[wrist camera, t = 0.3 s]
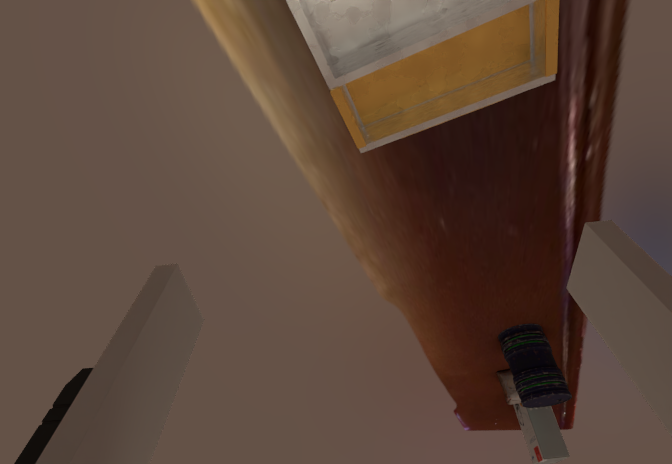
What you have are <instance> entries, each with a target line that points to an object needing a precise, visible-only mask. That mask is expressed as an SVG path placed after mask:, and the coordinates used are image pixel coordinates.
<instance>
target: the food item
mask: <svg viewBox="0 0 672 464" xmlns="http://www.w3.org/2000/svg"><path fill="white" fill-rule="evenodd" d="M497 375H498V378H499V382H500V384H501V386H502V389H503V391H504V396H505V399H506V401H507V404H509V405H511V404H518V403H521V399H520V398H519V395H518V393H517V391H516V388H515V387H516V386H515V384H514V383H513V375H512V372H511V369H510V370H504V371H499V372H497Z"/></svg>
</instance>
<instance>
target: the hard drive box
mask: <svg viewBox="0 0 672 464" xmlns="http://www.w3.org/2000/svg"><path fill="white" fill-rule="evenodd" d="M513 405H514V408H515V411H516V414H517V417H518V420H519V423H520V426H521V429H522V432H523V435H524V438H525V441H526V444H527V447H528V450H529V453H530V456H531V459H532V462H533V464H551V463H557V462H559V461H561V460H563V459H566V458H568V457H569V453H568V450H567V447H566V445H565V442H564V440H563V437H562V434H561V432H560V429H559V426H558V424H557V421H556V418H555V416H554V413H553V410H552V408H551V406H547V407H540V408H526V407H523V406H522V404H521V403H518V404H513Z"/></svg>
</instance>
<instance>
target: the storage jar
mask: <svg viewBox="0 0 672 464" xmlns="http://www.w3.org/2000/svg"><path fill="white" fill-rule="evenodd" d="M498 339H499V341H500V342H501V347H502V351H503V354H504V357H505V359H506V361H507V362H508V364H509V366H510V369H511V372H512V375H513V383H514V384H515V386H516V387H515V388H516V391H517V393H518V395H519V398H520V399H521V404H522V406H523V407H526V408H540V407H547V406H552V405H556V404H560V403H563V402H566V401H568V400H570V399H571V398H572V396H571V394H570V392H569V391H568V387H567V385H566V384H567V383H566V381H565V378H564V377H563V375H562V372H561V370H560V369H559V368H558V367H557V364H556V362H555V360H554V357H553V355H552V349H551V347H550V345H549V342H548V340H547V337H545V334H544V333H543V329H542V327H541V326H540V325H537V324H523V325H518V326H514V327H511V328H509V329H506V330H504V331H503V332H501V333H500V334H499V336H498Z"/></svg>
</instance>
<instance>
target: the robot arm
mask: <svg viewBox="0 0 672 464" xmlns="http://www.w3.org/2000/svg"><path fill="white" fill-rule="evenodd" d="M567 290H568V291H569V292H570V294H571V295H572V297H573V298H574V299H575V301H576V302H577V304H578V305H579V307H580V308H581V309H582V311H583V312H584V314H585V315H586V316H587V318H588V319H589V321H590V322H591V324H592V325H593V326H594V328H595V329H596V331H597V332H598V333H599V335H600V336H601V338H602V339H603V341H604V342H605V343H606V345H607V346H608V348H609V349H610V350H611V352H612V353H613V355H614V356H615V357H616V359H617V360H618V362H619V363H620V364H621V366H622V367H623V369H624V370H625V372H626V373H627V375H628V376H629V377H630V379H631V380H632V381H633V383H634V384H635V386H636V387H637V389H638V390H639V392H640V393H641V394H642V396H643V397H644V398H645V400H646V401H647V403H648V404H649V406H650V407H651V409H652V410H653V411H654V413H655V414H656V416H657V417H658V418H659V420H660V421H661V423H662V424H663V425H664V427H665V428H666V430H667V431H668V432H669V434H670V435H671V437H672V276H671V275H669V274H668V273H667V272H666V271H665V270H664V269H663V268H662V267H661V266H660V265H659V264H658V263H656V261H654V260H653V259H652V258H651V257H650V256H649V255H648V254H647V253H646V252H645V251H644V250H643V249H642V248H641V247H639V246H638V245H637V244H636V243H635V242H634V241H633V240H632V239H631V238H630V237H629V236H628V235H627V234H626V233H624V232H623V231H622V230H621V229H620V228H619V227H618V226H617V225H616V224H615V223H614V222H613V221H612V220H608V221H598V222H588V223H585V226H584V229H583V233H582V236H581V240H580V243H579V246H578V250H577V253H576V257H575V260H574V264H573V267H572V271H571V274H570V278H569V281H568V285H567ZM203 322H204V318H203V317H202V314H201V312H200V310H199V308H198V306H197V304H196V301H195V299H194V297H193V295H192V293H191V291H190V289H189V287H188V285H187V283H186V280H185V278H184V276H183V274H182V272H181V270H180V268H179V265H178V264H171V265H160V266H156V267H155V268H154V270H153V271H152V273H151V275H150V277H149V278H148V280H147V281H146V283H145V285H144V286H143V288H142V290H141V291H140V293H139V295H138V296H137V298H136V299H135V301H134V303H133V304H132V306H131V308H130V309H129V311H128V312H127V314H126V316H125V317H124V319H123V321H122V322H121V324H120V326H119V327H118V329H117V331H116V332H115V334H114V336H113V337H112V339H111V340H110V342H109V344H108V345H107V347H106V349H105V351H104V352H103V354H102V355H101V357H100V359H99V360H98V362H97V364H96V365H95V367H94V368H85V369H82V370H81V371H80V372H79V373H78V374H77V375H76V376H75V377H74V378H73V379H72V380H71V381H70V382H69V383H68V384H66V385H65V387H64V388H63V390H62V391H61V393H60V394H59V396H58V398H57V399H56V401H55V402H54V404H53V408H52V409H50V410H49V411H48V413H47V415H46V416H45V418H44V419H43V420H42V425H40V426H39V427H38V428H37V430H36V431H35V433H34V434H33V436H32V437H31V439H30V440H29V442H28V444H27V445H26V447H25V448H24V450H23V451H22V453H21V454H20V456H19V457H18V459H17V460H16V462H15V464H150V461H151V459H152V456H153V454H154V451H155V448H156V445H157V443H158V440H159V438H160V435H161V432H162V430H163V427H164V424H165V422H166V419H167V417H168V414H169V411H170V409H171V406H172V403H173V401H174V398H175V396H176V393H177V390H178V388H179V384H180V382H181V380H182V377H183V375H184V372H185V369H186V367H187V364H188V361H189V359H190V356H191V353H192V351H193V348H194V346H195V343H196V340H197V338H198V335H199V332H200V330H201V327H202V324H203Z"/></svg>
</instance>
